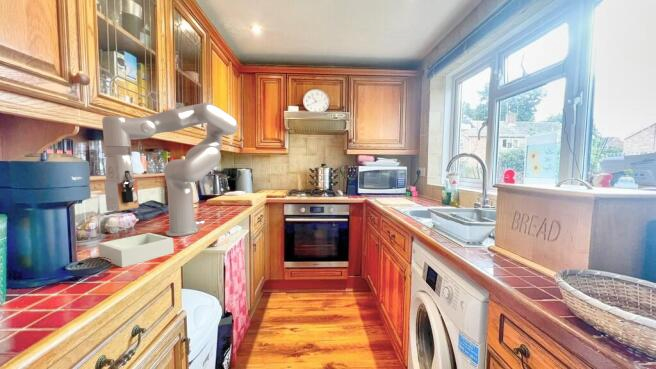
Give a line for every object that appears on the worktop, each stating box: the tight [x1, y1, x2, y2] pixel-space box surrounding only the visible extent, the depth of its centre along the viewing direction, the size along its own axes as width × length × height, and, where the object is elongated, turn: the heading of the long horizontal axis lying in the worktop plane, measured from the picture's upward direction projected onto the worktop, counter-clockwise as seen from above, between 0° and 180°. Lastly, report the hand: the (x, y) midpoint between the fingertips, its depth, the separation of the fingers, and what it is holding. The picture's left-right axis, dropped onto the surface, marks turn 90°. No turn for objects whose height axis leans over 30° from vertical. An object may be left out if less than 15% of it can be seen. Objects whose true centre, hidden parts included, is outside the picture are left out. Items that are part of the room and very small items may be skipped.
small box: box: [104, 179, 140, 212], centre depth 99 cm, size 8×6×10 cm
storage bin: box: [97, 232, 175, 268], centre depth 90 cm, size 15×15×5 cm
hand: (122, 201), depth 100 cm, fingers closed on small box, 7 cm apart
